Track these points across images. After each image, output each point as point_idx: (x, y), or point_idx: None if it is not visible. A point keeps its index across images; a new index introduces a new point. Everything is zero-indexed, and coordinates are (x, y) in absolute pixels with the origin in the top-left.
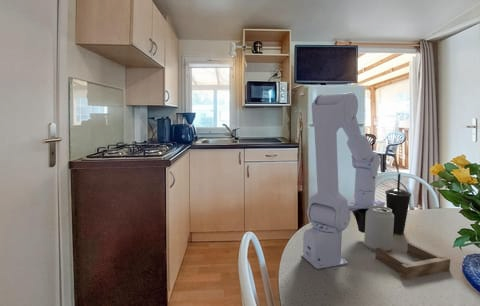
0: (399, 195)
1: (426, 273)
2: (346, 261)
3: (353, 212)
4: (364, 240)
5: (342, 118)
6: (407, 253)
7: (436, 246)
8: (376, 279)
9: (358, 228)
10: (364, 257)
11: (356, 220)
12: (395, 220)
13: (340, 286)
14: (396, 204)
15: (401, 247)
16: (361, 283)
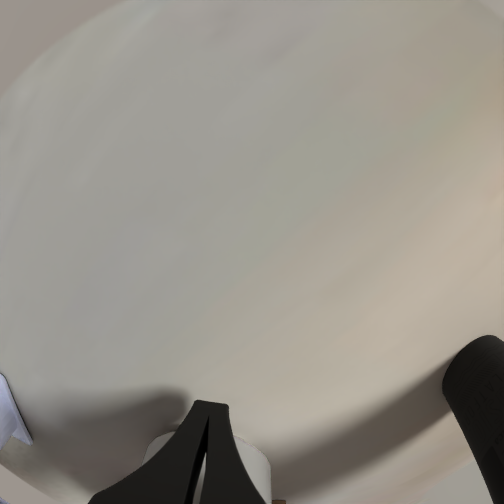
0: None
1: None
2: (27, 442)
3: (107, 497)
4: (151, 448)
5: None
6: (272, 501)
7: (417, 481)
8: (72, 490)
9: (191, 410)
10: (97, 457)
11: (160, 450)
12: (471, 448)
13: (2, 453)
14: None
15: (308, 479)
16: (38, 475)
